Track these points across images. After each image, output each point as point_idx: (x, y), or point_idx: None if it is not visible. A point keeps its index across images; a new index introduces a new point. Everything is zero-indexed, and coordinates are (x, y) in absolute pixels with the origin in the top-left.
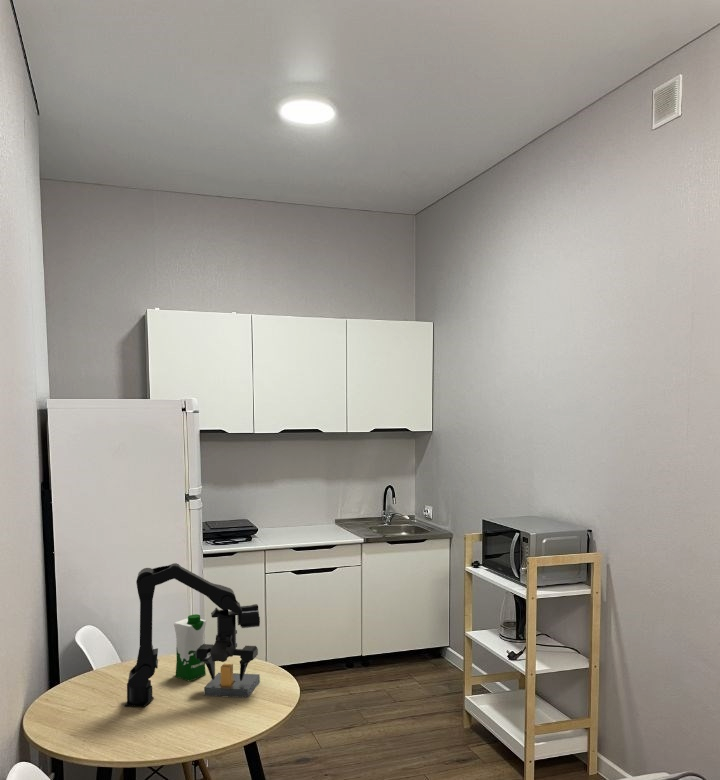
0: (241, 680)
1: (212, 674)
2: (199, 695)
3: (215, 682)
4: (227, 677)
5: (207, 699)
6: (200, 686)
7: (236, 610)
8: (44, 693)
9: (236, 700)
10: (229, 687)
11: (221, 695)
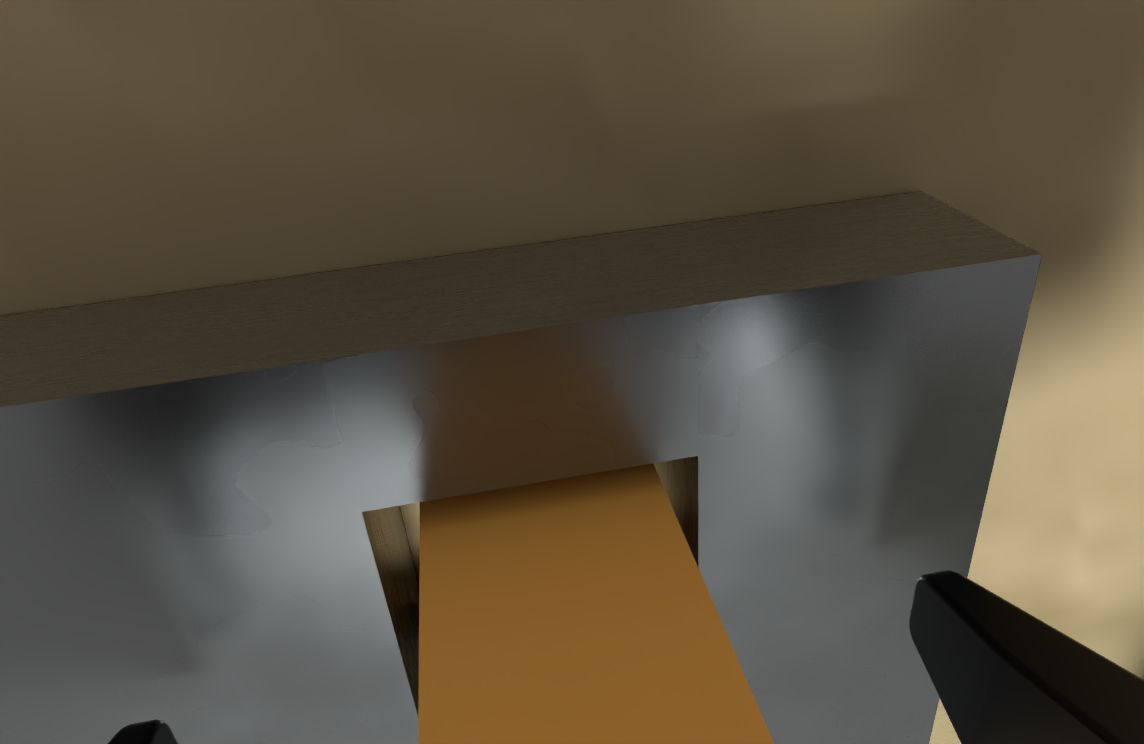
0: (115, 735)
1: (1029, 670)
2: (1025, 181)
3: (837, 559)
4: (500, 686)
5: (792, 13)
6: (1072, 514)
7: None
8: None
9: (9, 123)
10: (350, 425)
11: (531, 254)
